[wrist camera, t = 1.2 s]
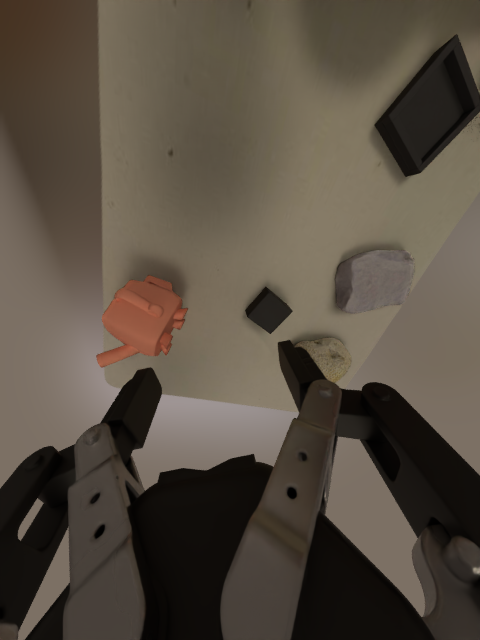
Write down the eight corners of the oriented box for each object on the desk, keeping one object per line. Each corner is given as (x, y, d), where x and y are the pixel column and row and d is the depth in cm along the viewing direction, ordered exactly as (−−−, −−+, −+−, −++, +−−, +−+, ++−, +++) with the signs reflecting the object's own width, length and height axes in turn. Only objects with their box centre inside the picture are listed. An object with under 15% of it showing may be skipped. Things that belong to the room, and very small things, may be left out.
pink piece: (147, 388, 25) (70, 360, 24) (175, 343, 36) (124, 321, 35) (177, 316, 21) (88, 276, 20) (198, 290, 32) (142, 262, 31)
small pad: (245, 310, 35) (247, 317, 32) (265, 286, 33) (269, 291, 31) (267, 326, 37) (270, 334, 34) (287, 304, 35) (292, 311, 33)
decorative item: (290, 395, 40) (298, 375, 32) (284, 357, 45) (290, 332, 38) (349, 395, 39) (373, 374, 31) (336, 356, 45) (354, 331, 37)
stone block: (330, 258, 34) (334, 312, 36) (347, 256, 29) (350, 318, 32) (393, 245, 34) (393, 299, 37) (420, 240, 30) (418, 303, 32)
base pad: (374, 125, 25) (388, 115, 23) (434, 51, 23) (457, 33, 21) (405, 177, 28) (420, 173, 26) (462, 117, 26) (484, 107, 23)
